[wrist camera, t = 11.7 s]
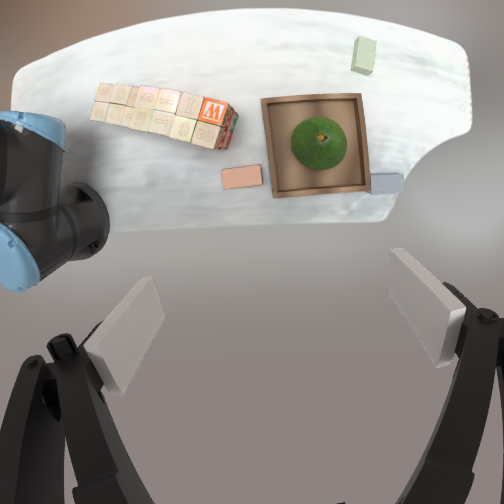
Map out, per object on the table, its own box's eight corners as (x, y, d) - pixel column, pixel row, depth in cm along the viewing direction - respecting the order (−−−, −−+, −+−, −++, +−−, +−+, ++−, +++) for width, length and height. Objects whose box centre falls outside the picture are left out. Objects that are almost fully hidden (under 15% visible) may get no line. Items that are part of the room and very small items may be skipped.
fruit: (321, 111, 42) (337, 99, 31) (347, 153, 44) (370, 155, 33) (280, 135, 44) (282, 130, 33) (306, 177, 46) (317, 186, 35)
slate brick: (366, 191, 47) (371, 194, 44) (364, 174, 46) (370, 175, 43) (397, 189, 46) (404, 192, 43) (396, 172, 45) (403, 174, 42)
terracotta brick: (226, 186, 48) (223, 189, 45) (224, 169, 47) (221, 170, 44) (262, 182, 47) (262, 184, 45) (260, 164, 46) (259, 165, 44)
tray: (273, 195, 48) (273, 198, 45) (261, 101, 43) (260, 98, 40) (365, 187, 46) (370, 190, 43) (355, 96, 41) (361, 93, 38)
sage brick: (367, 75, 40) (372, 71, 37) (350, 70, 40) (355, 65, 37) (371, 46, 38) (376, 41, 35) (354, 41, 38) (359, 35, 35)
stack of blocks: (116, 122, 45) (77, 119, 33) (126, 89, 43) (88, 78, 31) (228, 149, 46) (213, 150, 34) (239, 114, 44) (228, 102, 32)
